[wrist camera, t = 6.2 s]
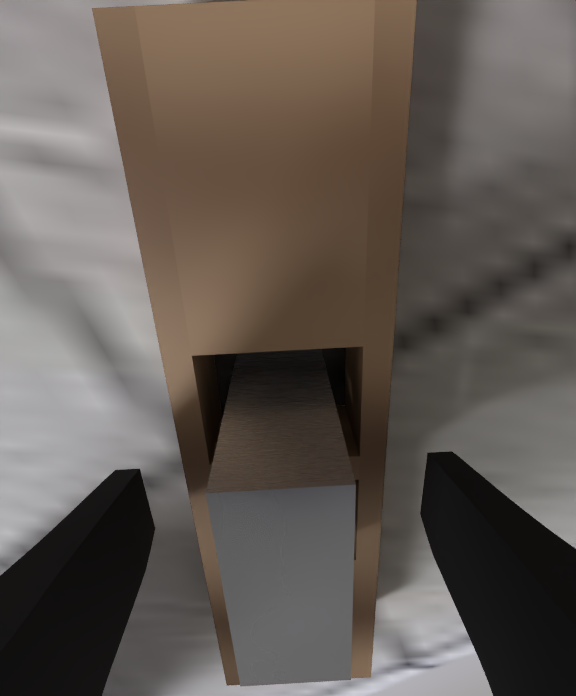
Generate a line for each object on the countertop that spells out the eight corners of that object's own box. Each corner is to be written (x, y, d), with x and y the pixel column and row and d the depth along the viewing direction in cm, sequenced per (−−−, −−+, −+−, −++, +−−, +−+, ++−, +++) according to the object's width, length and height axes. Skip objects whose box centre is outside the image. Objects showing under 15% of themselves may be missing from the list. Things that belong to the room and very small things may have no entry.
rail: (358, 609, 17) (370, 677, 15) (233, 616, 17) (227, 685, 15) (380, 39, 9) (417, -9, 6) (140, 52, 9) (91, 8, 6)
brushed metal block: (321, 481, 14) (351, 679, 8) (254, 485, 14) (240, 685, 8) (318, 339, 12) (355, 484, 6) (239, 344, 12) (205, 493, 6)
